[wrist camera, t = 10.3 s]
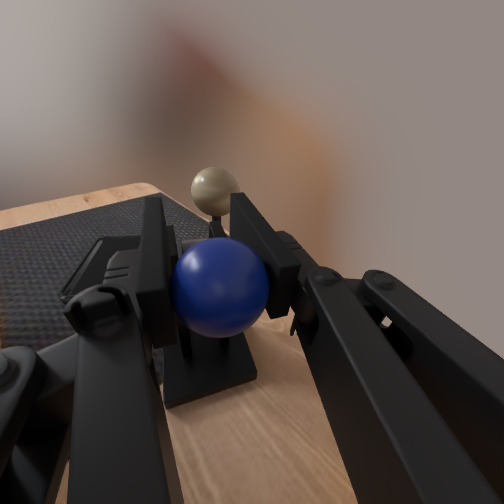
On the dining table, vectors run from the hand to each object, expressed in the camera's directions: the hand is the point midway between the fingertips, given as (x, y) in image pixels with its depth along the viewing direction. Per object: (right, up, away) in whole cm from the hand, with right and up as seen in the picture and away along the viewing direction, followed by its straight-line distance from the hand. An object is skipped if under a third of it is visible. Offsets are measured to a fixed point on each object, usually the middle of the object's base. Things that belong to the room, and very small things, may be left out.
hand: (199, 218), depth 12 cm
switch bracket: (-3, -13, +14) cm, 19 cm away
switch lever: (0, -4, +1) cm, 5 cm away
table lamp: (-3, -6, +23) cm, 24 cm away
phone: (-20, -4, +23) cm, 31 cm away
